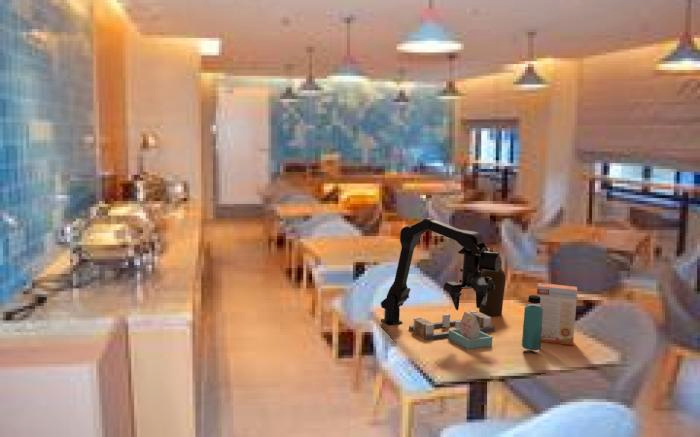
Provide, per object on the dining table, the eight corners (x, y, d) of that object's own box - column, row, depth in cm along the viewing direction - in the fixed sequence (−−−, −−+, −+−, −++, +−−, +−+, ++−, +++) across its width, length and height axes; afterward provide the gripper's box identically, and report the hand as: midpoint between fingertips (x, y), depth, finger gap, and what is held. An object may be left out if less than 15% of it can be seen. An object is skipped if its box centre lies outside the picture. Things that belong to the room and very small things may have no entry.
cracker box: (573, 341, 235) (577, 286, 232) (573, 346, 229) (578, 289, 226) (533, 335, 240) (538, 281, 237) (532, 340, 234) (537, 285, 231)
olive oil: (496, 309, 274) (500, 252, 270) (507, 316, 263) (512, 257, 260) (473, 310, 271) (477, 252, 268) (484, 317, 261) (488, 257, 257)
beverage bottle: (541, 355, 218) (545, 299, 216) (521, 353, 220) (525, 297, 217) (539, 349, 225) (544, 294, 222) (520, 347, 226) (524, 292, 223)
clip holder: (408, 329, 241) (409, 317, 241) (475, 321, 255) (475, 309, 254) (426, 340, 230) (427, 326, 229) (495, 331, 243) (495, 318, 243)
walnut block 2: (470, 325, 250) (471, 313, 249) (479, 324, 252) (479, 312, 251) (480, 330, 244) (481, 317, 244) (488, 328, 246) (489, 316, 245)
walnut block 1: (414, 332, 239) (415, 319, 238) (423, 331, 240) (424, 318, 240) (422, 337, 233) (423, 324, 232) (432, 336, 235) (432, 323, 234)
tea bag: (467, 337, 233) (469, 311, 232) (478, 343, 227) (480, 316, 226) (459, 338, 232) (460, 312, 230) (470, 344, 226) (471, 317, 224)
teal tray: (448, 339, 232) (448, 329, 232) (471, 335, 237) (471, 326, 236) (468, 349, 221) (468, 340, 221) (491, 346, 226) (492, 337, 225)
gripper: (462, 273, 217) (458, 317, 220) (505, 270, 225) (502, 313, 228) (444, 266, 227) (441, 308, 230) (486, 263, 235) (483, 304, 238)
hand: (467, 308), depth 231 cm, fingers open, 9 cm apart
